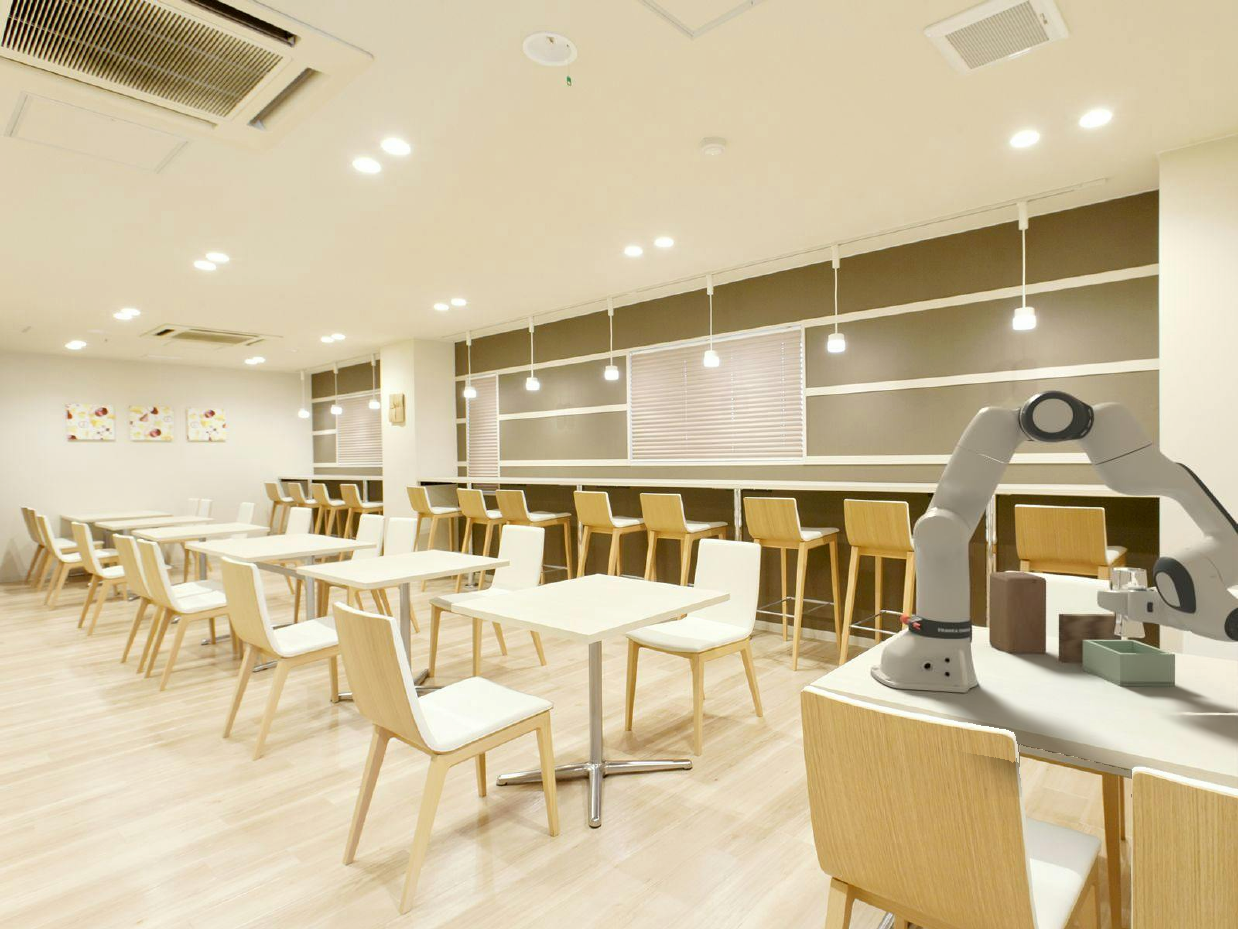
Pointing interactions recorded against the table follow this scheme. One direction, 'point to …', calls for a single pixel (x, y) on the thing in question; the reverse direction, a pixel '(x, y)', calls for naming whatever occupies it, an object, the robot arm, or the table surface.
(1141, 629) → the beer glass
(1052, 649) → the table surface
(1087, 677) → the table surface
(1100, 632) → the box
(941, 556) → the robot arm
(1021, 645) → the wooden block
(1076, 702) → the table surface
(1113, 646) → the sage green storage bin
